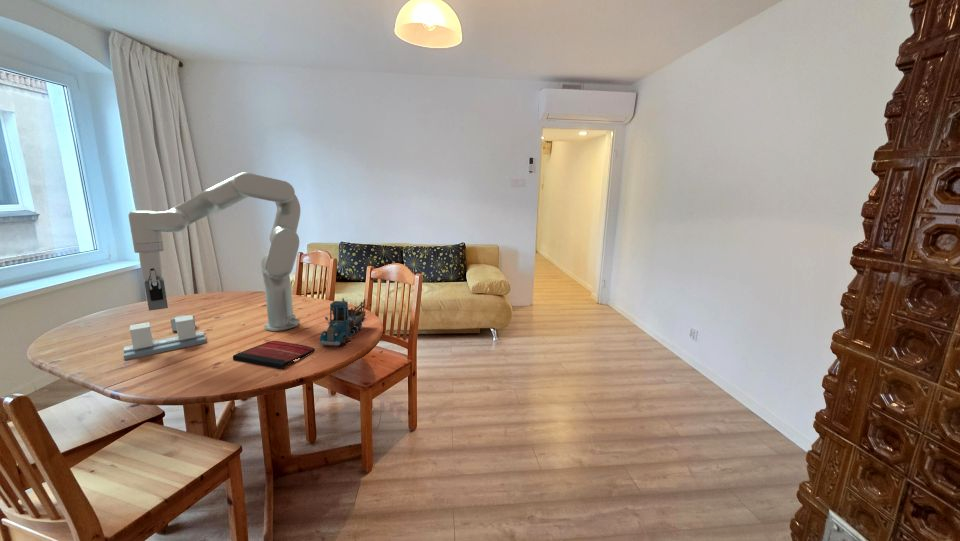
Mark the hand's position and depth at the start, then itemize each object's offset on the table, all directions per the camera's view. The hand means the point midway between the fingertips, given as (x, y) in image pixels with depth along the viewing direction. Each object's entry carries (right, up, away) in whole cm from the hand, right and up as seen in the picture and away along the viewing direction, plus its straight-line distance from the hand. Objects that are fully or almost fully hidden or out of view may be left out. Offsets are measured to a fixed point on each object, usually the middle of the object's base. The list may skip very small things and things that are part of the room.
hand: (156, 297), depth 127 cm
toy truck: (+60, -17, +16) cm, 64 cm away
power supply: (-7, -14, +21) cm, 26 cm away
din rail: (0, -17, +4) cm, 17 cm away
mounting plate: (0, -18, +4) cm, 19 cm away
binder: (+42, -21, 0) cm, 47 cm away
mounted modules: (0, -16, +4) cm, 16 cm away
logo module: (0, -4, +1) cm, 4 cm away
